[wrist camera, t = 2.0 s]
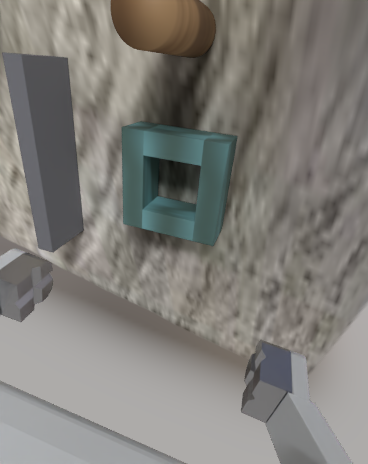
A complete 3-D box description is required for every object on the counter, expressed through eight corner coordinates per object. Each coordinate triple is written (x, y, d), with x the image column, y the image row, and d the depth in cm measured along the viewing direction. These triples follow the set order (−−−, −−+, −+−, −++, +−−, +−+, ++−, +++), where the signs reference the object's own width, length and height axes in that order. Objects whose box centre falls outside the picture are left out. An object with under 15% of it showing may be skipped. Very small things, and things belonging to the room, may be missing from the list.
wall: (67, 57, 30) (21, 54, 25) (83, 229, 40) (52, 252, 35) (50, 56, 30) (2, 52, 25) (70, 226, 40) (38, 248, 35)
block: (237, 136, 28) (229, 144, 25) (221, 228, 33) (213, 246, 30) (141, 121, 30) (121, 127, 27) (139, 209, 35) (123, 223, 32)
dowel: (218, 2, 24) (176, -36, 16) (212, 59, 26) (171, 52, 18) (172, 0, 25) (109, -37, 16) (169, 55, 27) (111, 47, 18)
